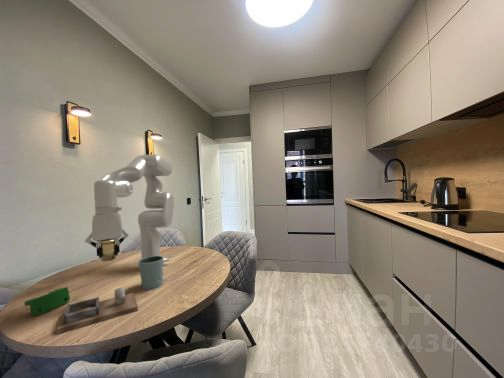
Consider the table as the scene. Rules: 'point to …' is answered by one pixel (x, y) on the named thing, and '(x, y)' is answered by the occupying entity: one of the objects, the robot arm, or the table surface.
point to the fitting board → (96, 310)
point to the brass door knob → (108, 250)
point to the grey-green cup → (151, 272)
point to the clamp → (48, 301)
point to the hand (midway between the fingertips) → (108, 255)
